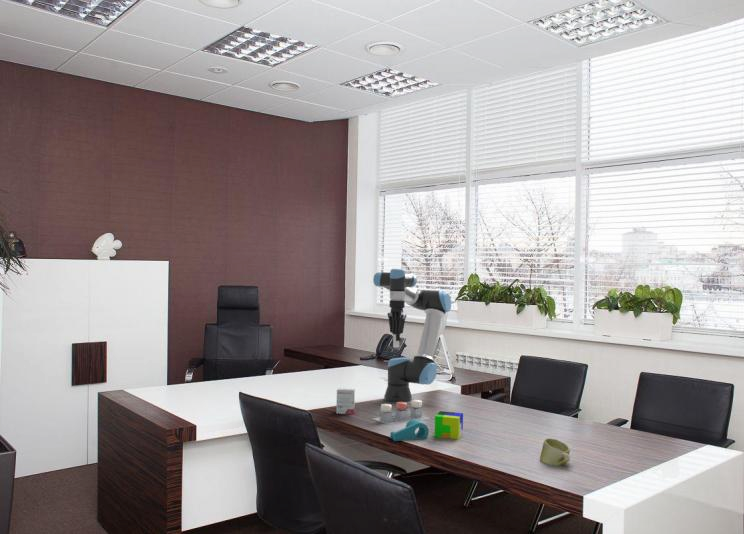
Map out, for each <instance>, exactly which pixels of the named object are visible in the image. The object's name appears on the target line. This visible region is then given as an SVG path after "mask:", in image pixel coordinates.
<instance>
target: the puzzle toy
mask: <svg viewBox="0 0 744 534" xmlns="http://www.w3.org/2000/svg"><path fill="white" fill-rule="evenodd" d="M463 433H464V413H463V412H453V411H444V410H443V411H442V410H440V411H438V413H437V414H436V415H435V416H434V437H435V438H441V439H442V438H445V439H455V440H459V439H460V438H461V436H463Z"/></svg>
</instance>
